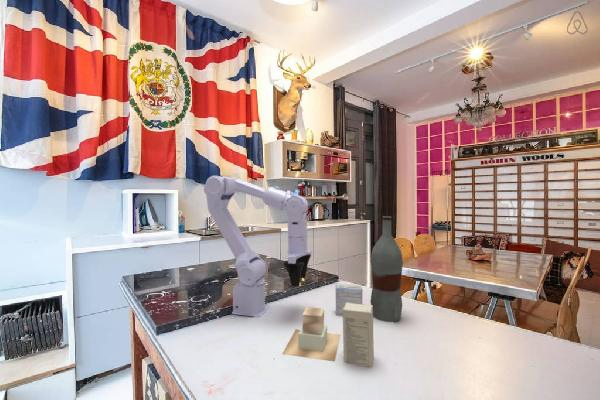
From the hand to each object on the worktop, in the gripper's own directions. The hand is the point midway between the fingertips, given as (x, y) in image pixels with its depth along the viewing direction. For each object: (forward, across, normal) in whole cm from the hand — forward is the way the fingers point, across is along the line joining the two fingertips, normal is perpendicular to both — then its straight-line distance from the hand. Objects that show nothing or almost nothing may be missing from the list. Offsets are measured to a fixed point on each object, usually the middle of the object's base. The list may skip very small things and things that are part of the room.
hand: (298, 281), depth 87 cm
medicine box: (+11, +5, -14) cm, 19 cm away
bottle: (+11, +6, -25) cm, 28 cm away
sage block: (+10, -15, -7) cm, 19 cm away
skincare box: (+11, -19, -18) cm, 28 cm away
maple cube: (+7, -15, -7) cm, 18 cm away
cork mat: (+11, -15, -7) cm, 20 cm away
